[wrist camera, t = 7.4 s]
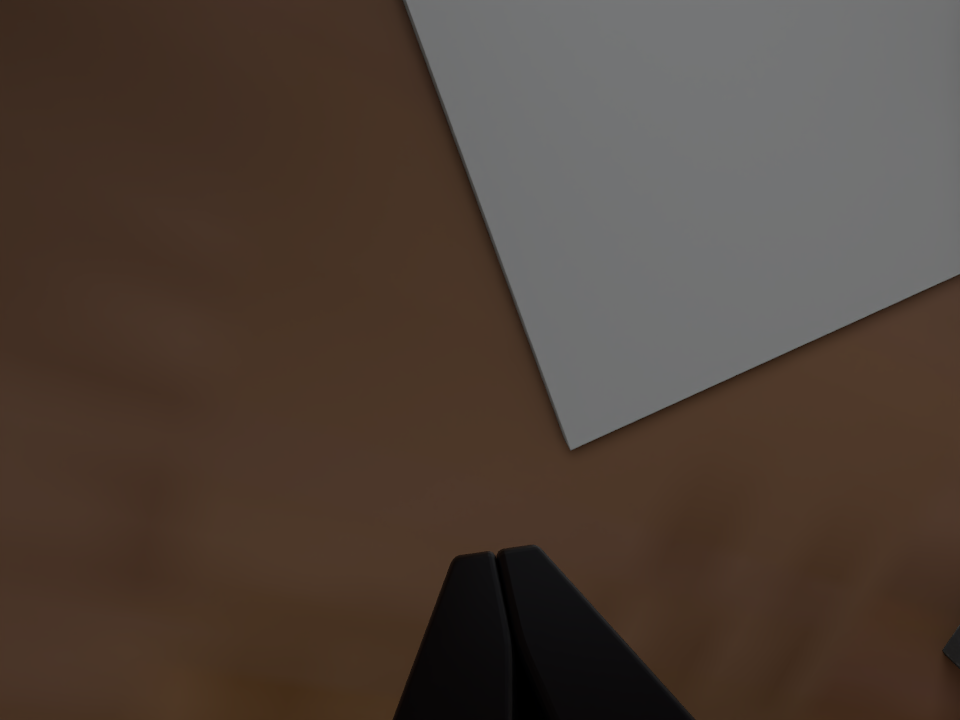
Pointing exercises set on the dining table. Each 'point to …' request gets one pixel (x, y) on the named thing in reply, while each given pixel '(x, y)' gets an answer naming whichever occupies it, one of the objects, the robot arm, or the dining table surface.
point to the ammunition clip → (953, 648)
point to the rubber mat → (699, 177)
